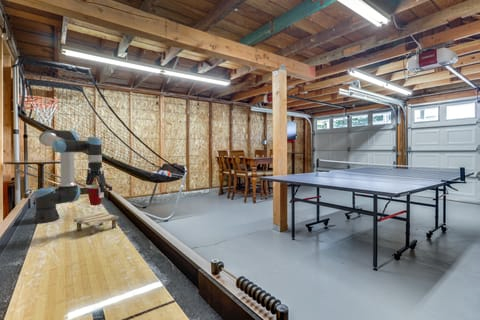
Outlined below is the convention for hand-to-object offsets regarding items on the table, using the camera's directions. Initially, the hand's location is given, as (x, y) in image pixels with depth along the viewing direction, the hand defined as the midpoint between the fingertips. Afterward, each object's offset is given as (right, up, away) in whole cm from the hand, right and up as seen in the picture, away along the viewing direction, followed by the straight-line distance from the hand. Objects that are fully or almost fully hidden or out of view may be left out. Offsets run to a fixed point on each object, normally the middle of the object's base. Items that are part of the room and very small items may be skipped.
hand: (96, 196), depth 158 cm
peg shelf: (0, -21, +1) cm, 21 cm away
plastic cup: (0, -5, 0) cm, 5 cm away
